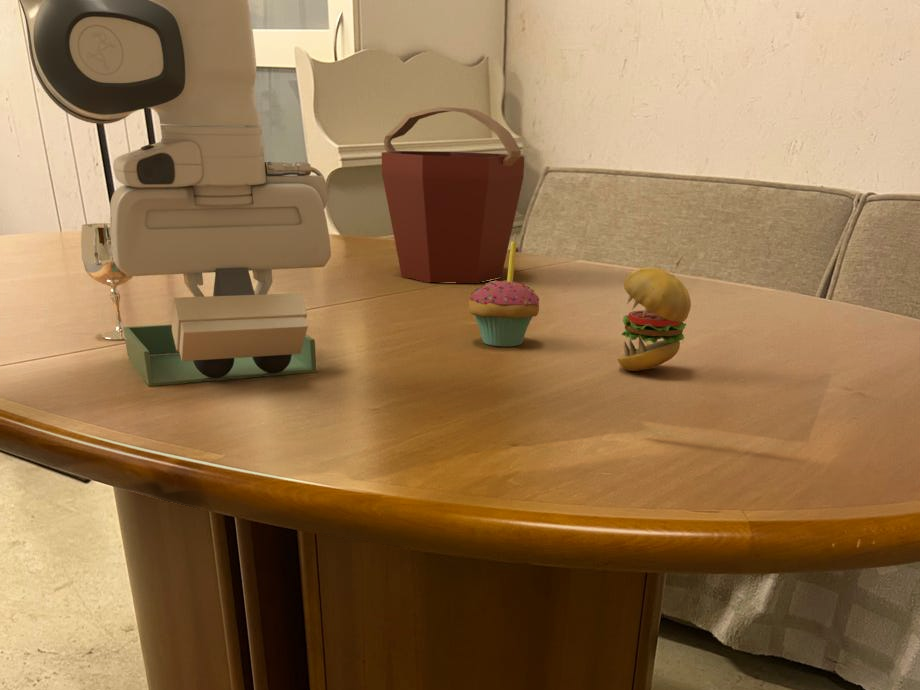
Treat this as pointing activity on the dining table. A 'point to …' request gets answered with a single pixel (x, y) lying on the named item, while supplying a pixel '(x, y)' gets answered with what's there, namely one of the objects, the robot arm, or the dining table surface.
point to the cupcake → (504, 308)
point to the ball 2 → (272, 362)
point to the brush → (238, 321)
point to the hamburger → (654, 317)
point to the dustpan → (172, 370)
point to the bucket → (452, 205)
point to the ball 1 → (214, 367)
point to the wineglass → (103, 267)
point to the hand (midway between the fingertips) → (232, 319)
